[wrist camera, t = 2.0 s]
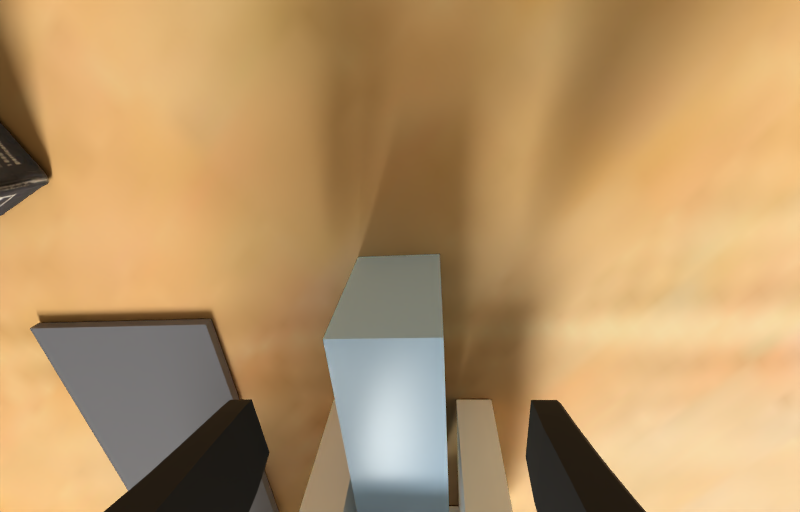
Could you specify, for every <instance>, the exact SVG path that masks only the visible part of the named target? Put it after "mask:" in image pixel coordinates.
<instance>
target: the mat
mask: <svg viewBox="0 0 800 512" xmlns="http://www.w3.org/2000/svg"><path fill="white" fill-rule="evenodd" d="M30 329H31V331H32V333H33V334H34V336H35V338H36V339H37V341H38V343H39V344H40V346H41V348H42V349H43V351H44V352H45V354H46V356H47V357H48V359H49V361H50V362H51V364H52V366H53V367H54V369H55V371H56V372H57V374H58V376H59V377H60V379H61V381H62V382H63V384H64V386H65V387H66V389H67V390H68V392H69V394H70V395H71V397H72V399H73V400H74V402H75V404H76V405H77V407H78V409H79V410H80V412H81V414H82V415H83V417H84V419H85V420H86V422H87V424H88V425H89V427H90V428H91V430H92V432H93V433H94V435H95V437H96V438H97V440H98V442H99V443H100V445H101V447H102V448H103V450H104V452H105V453H106V455H107V457H108V458H109V460H110V462H111V463H112V465H113V466H114V468H115V470H116V471H117V473H118V475H119V476H120V478H121V480H122V481H123V483H124V485H125V486H126V488H127V490H128V491H129V490H130V489H131V488H132V487H134V486H135V485H136V484H137V483H138V482H139V481H141V480H142V479H143V478H144V477H145V476H146V475H148V474H149V473H150V472H151V471H152V470H153V469H154V468H155V467H156V466H158V465H159V464H160V463H161V462H162V461H163V460H164V459H165V458H166V457H168V456H169V455H170V454H171V453H172V452H173V451H174V450H175V449H176V448H177V447H179V446H180V445H181V444H182V443H183V442H184V441H185V440H186V439H187V438H188V437H189V436H191V435H192V434H193V433H194V432H195V431H196V430H197V429H198V428H199V427H200V426H201V425H202V424H204V423H205V422H206V421H207V420H208V419H209V418H210V417H211V416H212V415H213V414H214V413H215V412H217V411H218V410H219V409H220V408H221V407H222V406H223V405H224V404H226V403H227V402H228V401H229V400H239V397H238V394H237V391H236V388H235V385H234V383H233V380H232V377H231V374H230V371H229V368H228V366H227V363H226V360H225V357H224V354H223V351H222V348H221V346H220V343H219V340H218V337H217V334H216V331H215V329H214V326H213V323H212V320H211V319H185V320H143V321H101V322H60V323H38V324H37V325H35V326H33V327H32V328H30ZM249 512H279V510H278V508H277V505H276V502H275V499H274V496H273V493H272V491H271V488H270V485H269V482H268V479H267V476H266V473H265V471H264V472H263V476H262V479H261V482H260V485H259V488H258V491H257V494H256V496H255V499H254V501H253V504H252V506H251V508H250V511H249Z"/></svg>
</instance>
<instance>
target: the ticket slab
mask: <svg viewBox="0 0 800 512" xmlns="http://www.w3.org/2000/svg"><path fill="white" fill-rule="evenodd" d="M323 343H324V348H325V353H326V358H327V363H328V368H329V373H330V378H331V383H332V388H333V393H334V398H335V403H336V408H337V413H338V418H339V423H340V428H341V433H342V438H343V443H344V448H345V453H346V458H347V463H348V468H349V473H350V478H351V483H352V488H353V493H354V498H355V503H356V508H357V512H449V491H448V460H447V428H446V397H445V365H444V335H443V313H442V291H441V269H440V254H424V255H396V256H368V257H358V258H357V261H356V263H355V265H354V268H353V270H352V272H351V274H350V277H349V279H348V281H347V284H346V286H345V288H344V291H343V293H342V295H341V298H340V300H339V302H338V305H337V307H336V309H335V312H334V314H333V316H332V319H331V321H330V323H329V326H328V328H327V330H326V333H325V335H324V337H323Z"/></svg>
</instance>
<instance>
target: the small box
mask: <svg viewBox="0 0 800 512" xmlns="http://www.w3.org/2000/svg"><path fill="white" fill-rule="evenodd" d="M48 182H49V179H48V177H47V175H46V174H45V172H44V171H43V170H42V169H41V168H40V167H39V165H38V164H37V163H36V162H35V161H34V160H33V159H32V158H31V156H30V155H29V154H28V153H27V152H26V151H25V150H24V149H23V148H22V146H21V145H20V144H19V143H18V142H17V141H16V139H15V138H13V136H12V135H11V134H10V133H9V132H8V130H7V129H6V128H5V127H4V126H3V125H2V124H1V123H0V216H1V215H3V214H4V213H5V212H7V211H8V210H10V209H11V208H13V207H14V206H16V205H17V204H18V203H20V202H21V201H23V200H24V199H25V198H27V197H28V196H29V195H31V194H32V193H34V192H35V191H36V190H38V189H39V188H41V187H42V186H44V185H46V184H48Z"/></svg>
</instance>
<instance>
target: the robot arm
mask: <svg viewBox="0 0 800 512" xmlns="http://www.w3.org/2000/svg"><path fill="white" fill-rule="evenodd" d="M268 455H269V450H268V447H267V444H266V441H265V438H264V435H263V432H262V429H261V426H260V423H259V420H258V417H257V414H256V411H255V408H254V405H253V402H252V400H229V401H228V402H227V403H226V404H224V405H223V406H222V407H221V408H220V409H219V410H218V411H217V412H215V413H214V414H213V415H212V416H211V417H210V418H209V419H208V420H207V421H206V422H205V423H204V424H202V425H201V426H200V427H199V428H198V429H197V430H196V431H195V432H194V433H193V434H192V435H191V436H189V437H188V438H187V439H186V440H185V441H184V442H183V443H182V444H181V445H180V446H179V447H177V448H176V449H175V450H174V451H173V452H172V453H171V454H170V455H169V456H168V457H166V458H165V459H164V460H163V461H162V462H161V463H160V464H159V465H158V466H156V467H155V468H154V469H153V470H152V471H151V472H150V473H149V474H148V475H146V476H145V477H144V478H143V479H142V480H141V481H139V482H138V483H137V484H136V485H135V486H134V487H132V488H131V489H130V490H129V491H128V492H127V493H125V494H124V495H123V496H122V497H121V498H119V499H118V500H117V501H116V502H115V503H114V504H112V505H111V506H110V507H109V508H108V509H107V510H105V511H104V512H249V511H250V508H251V506H252V504H253V501H254V499H255V496H256V494H257V491H258V488H259V485H260V482H261V479H262V476H263V472H264V469H265V465H266V462H267V459H268ZM526 461H527V466H528V471H529V477H530V482H531V487H532V492H533V497H534V502H535V506H536V509H537V512H646V511H645V510H644V509H643V508H642V507H641V506H640V504H639V503H638V502H637V501H636V500H635V499H634V497H633V496H632V495H631V494H630V493H629V491H628V490H627V489H626V488H625V486H624V485H623V484H622V483H621V482H620V480H619V479H618V478H617V477H616V476H615V474H614V473H613V472H612V471H611V470H610V468H609V467H608V466H607V465H606V463H605V462H604V461H603V459H602V458H601V457H600V456H599V454H598V453H597V452H596V451H595V449H594V448H593V447H592V445H591V444H590V443H589V441H588V440H587V439H586V438H585V436H584V435H583V433H582V432H581V431H580V429H579V428H578V427H577V425H576V424H575V423H574V421H573V420H572V419H571V417H570V416H569V414H568V413H567V412H566V410H565V409H564V407H563V406H562V404H561V403H560V402H558V401H557V400H531V406H530V417H529V428H528V438H527V449H526Z"/></svg>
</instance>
